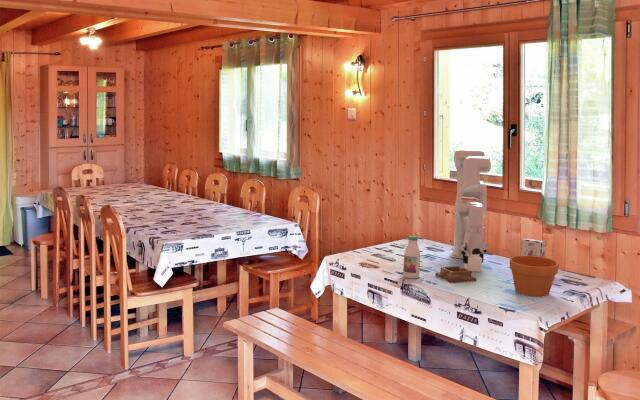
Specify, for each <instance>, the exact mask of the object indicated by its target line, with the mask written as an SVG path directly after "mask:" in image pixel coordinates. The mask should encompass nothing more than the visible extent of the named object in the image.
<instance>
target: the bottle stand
mask: <svg viewBox="0 0 640 400" xmlns="http://www.w3.org/2000/svg"><path fill="white" fill-rule="evenodd" d="M434 274H435V275H434V276H436V277H437V278H440V279H442V280H444V281H446V282H448V283H450V284H452V283H453V284H454V283H468V281H469V282H476V281H477V277H475V276H473V275H472V274H473V271H470V270H468V269H465V268H464V266H460V265H454V266H452V265H451V266H440V271H439V272H435V273H434Z"/></svg>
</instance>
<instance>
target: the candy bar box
mask: <svg viewBox="0 0 640 400" xmlns="http://www.w3.org/2000/svg"><path fill="white" fill-rule="evenodd" d="M546 245H547V241H546V240H540V239H533V238H528V237H527V238H525V237H524V238H522V239H521V247H520V256H539V257H545V258H546Z"/></svg>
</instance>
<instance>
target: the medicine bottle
mask: <svg viewBox="0 0 640 400" xmlns="http://www.w3.org/2000/svg"><path fill="white" fill-rule="evenodd" d="M479 255H480V249H479V248H476V249H473V251H472V252H469V253H468V255H467V256H468V263H467V264H465V263H463V268H465V269H468V270H470V271H472V272H478V273H479V272H482V264H483V263H482V258H481V257H480V256H479Z"/></svg>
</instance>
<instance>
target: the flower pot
mask: <svg viewBox="0 0 640 400" xmlns="http://www.w3.org/2000/svg"><path fill="white" fill-rule="evenodd" d="M559 266H560V263H559V261H557V260H555V259H552V258H550V257H546V256H545V257H539V256H521V255H514V256H512V257H510V258H509V269H510V270H511V273H512V280H513V286H514V290H515V292H516V293H517V294H519V295H522V296H526V297H532V298H533V297H534V298H536V297H537V298H543V296H544V297H547V296H549V294H550V292H551V289H552V286H553V283H554V280H555V278H556V275H557V274H558V272H559V268H560V267H559Z"/></svg>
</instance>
